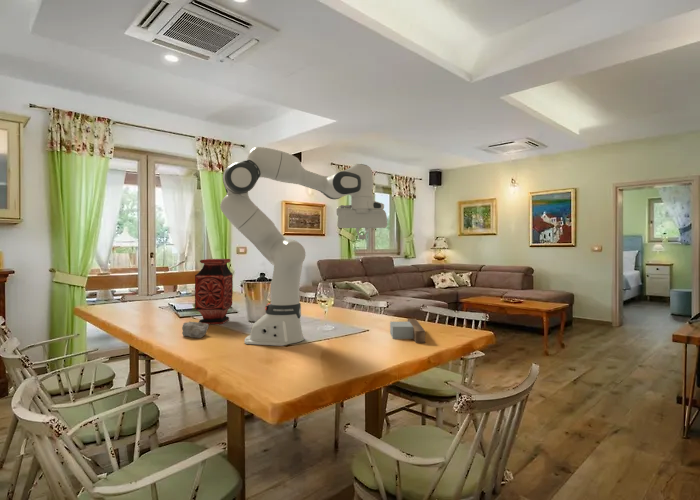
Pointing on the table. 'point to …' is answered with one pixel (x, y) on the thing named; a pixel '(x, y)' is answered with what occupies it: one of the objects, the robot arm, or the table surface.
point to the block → (401, 330)
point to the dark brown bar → (417, 331)
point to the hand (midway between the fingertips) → (362, 239)
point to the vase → (214, 291)
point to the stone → (194, 329)
